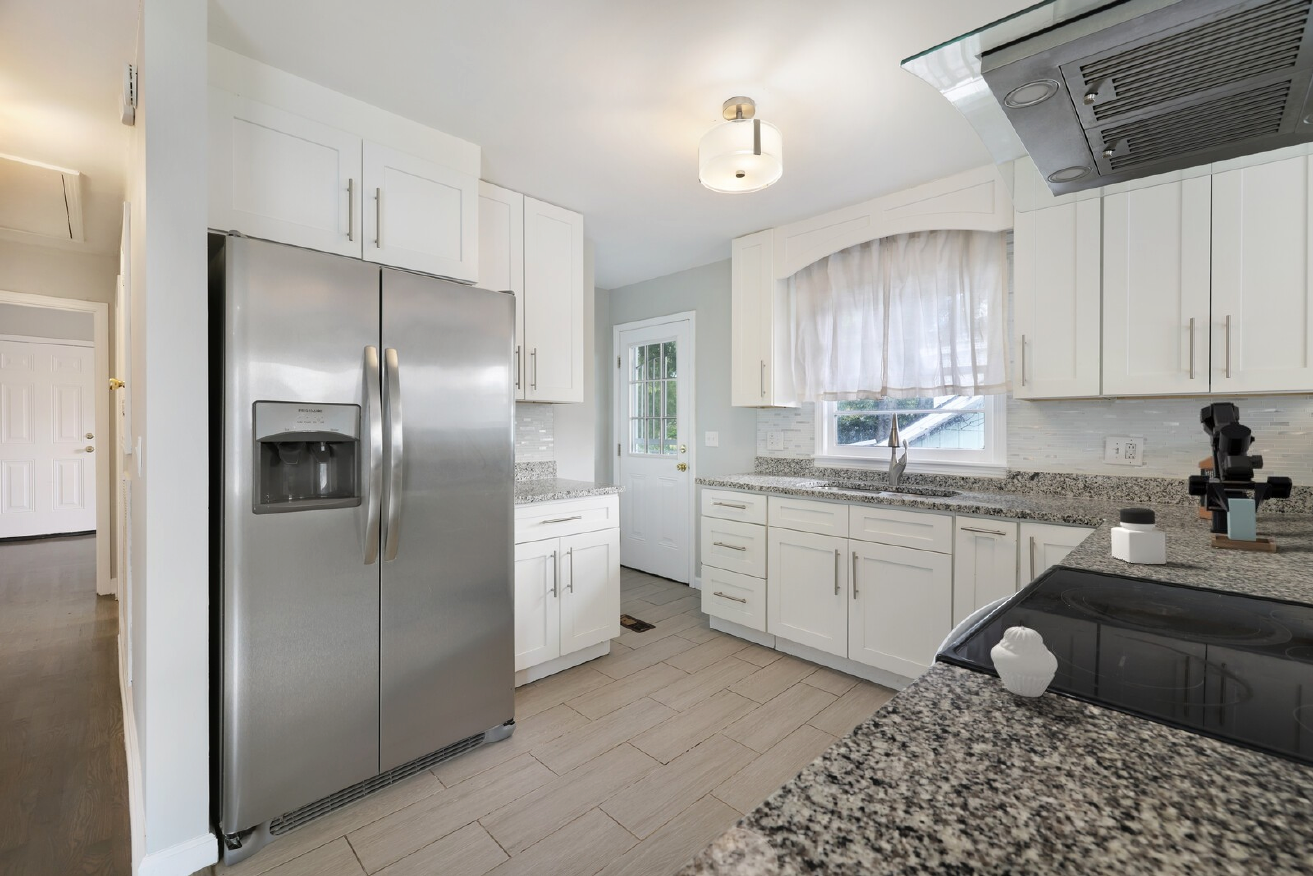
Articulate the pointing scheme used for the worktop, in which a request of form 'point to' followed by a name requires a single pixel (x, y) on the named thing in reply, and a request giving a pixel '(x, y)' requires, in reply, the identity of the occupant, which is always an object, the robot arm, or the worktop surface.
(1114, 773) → the worktop surface
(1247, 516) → the post
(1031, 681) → the muffin
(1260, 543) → the tray
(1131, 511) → the medicine bottle
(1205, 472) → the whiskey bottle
